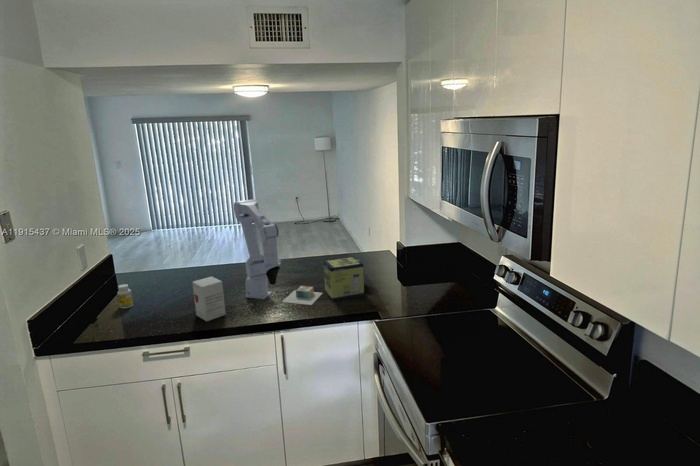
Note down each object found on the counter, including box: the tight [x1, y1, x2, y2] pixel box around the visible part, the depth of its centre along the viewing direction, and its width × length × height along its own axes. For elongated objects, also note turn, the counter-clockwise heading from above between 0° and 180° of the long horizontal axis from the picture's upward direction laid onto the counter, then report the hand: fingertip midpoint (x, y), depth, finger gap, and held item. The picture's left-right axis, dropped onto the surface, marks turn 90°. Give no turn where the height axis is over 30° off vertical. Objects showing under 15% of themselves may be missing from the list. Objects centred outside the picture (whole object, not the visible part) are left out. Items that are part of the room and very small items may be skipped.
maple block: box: [295, 285, 315, 298], centre depth 205 cm, size 6×3×6 cm
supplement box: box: [192, 276, 226, 322], centre depth 186 cm, size 9×9×15 cm
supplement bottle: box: [116, 283, 134, 309], centre depth 198 cm, size 5×5×10 cm
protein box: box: [323, 256, 365, 301], centre depth 203 cm, size 10×16×16 cm
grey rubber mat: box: [281, 289, 323, 306], centre depth 203 cm, size 14×14×1 cm
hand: (272, 283), depth 191 cm, fingers closed
